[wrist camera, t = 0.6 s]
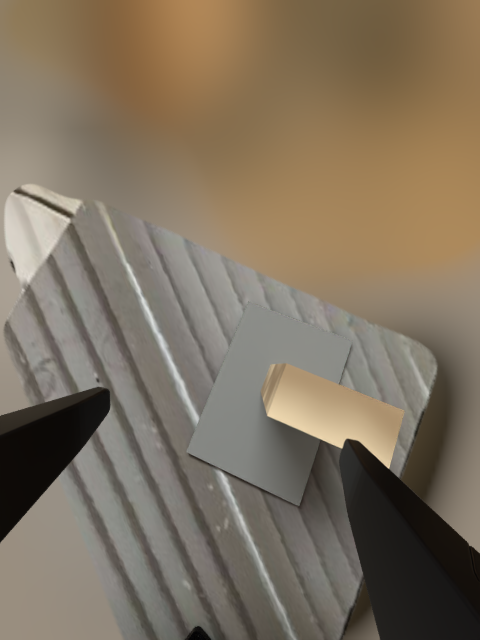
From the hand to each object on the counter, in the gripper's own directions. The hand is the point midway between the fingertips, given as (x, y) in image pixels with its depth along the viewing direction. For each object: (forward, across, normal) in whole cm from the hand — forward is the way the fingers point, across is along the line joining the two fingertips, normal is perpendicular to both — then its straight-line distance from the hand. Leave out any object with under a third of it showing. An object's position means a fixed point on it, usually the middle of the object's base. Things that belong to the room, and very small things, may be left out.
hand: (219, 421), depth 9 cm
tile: (+15, -5, +6) cm, 17 cm away
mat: (+15, -3, +8) cm, 17 cm away
